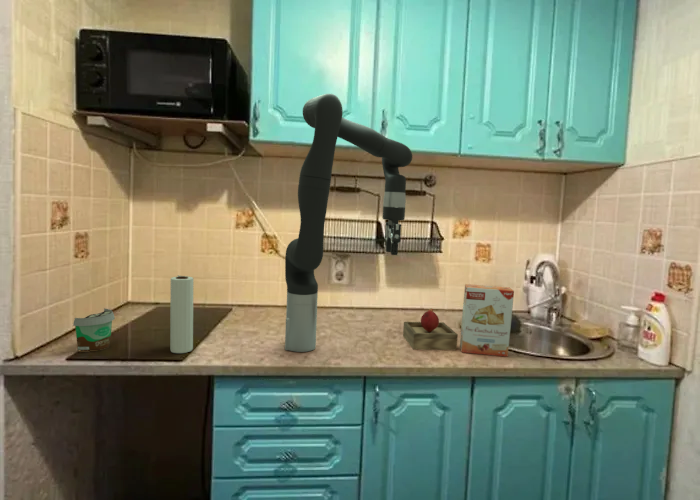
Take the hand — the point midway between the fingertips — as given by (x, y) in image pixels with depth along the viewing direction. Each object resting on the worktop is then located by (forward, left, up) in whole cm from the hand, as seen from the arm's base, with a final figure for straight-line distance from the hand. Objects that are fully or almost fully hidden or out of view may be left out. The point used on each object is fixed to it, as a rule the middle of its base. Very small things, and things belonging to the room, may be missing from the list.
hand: (391, 253), depth 148 cm
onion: (+12, -10, -25) cm, 29 cm away
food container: (-87, -18, -28) cm, 93 cm away
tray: (+12, -10, -28) cm, 32 cm away
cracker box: (+27, -19, -28) cm, 43 cm away
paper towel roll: (-64, -19, -28) cm, 73 cm away
